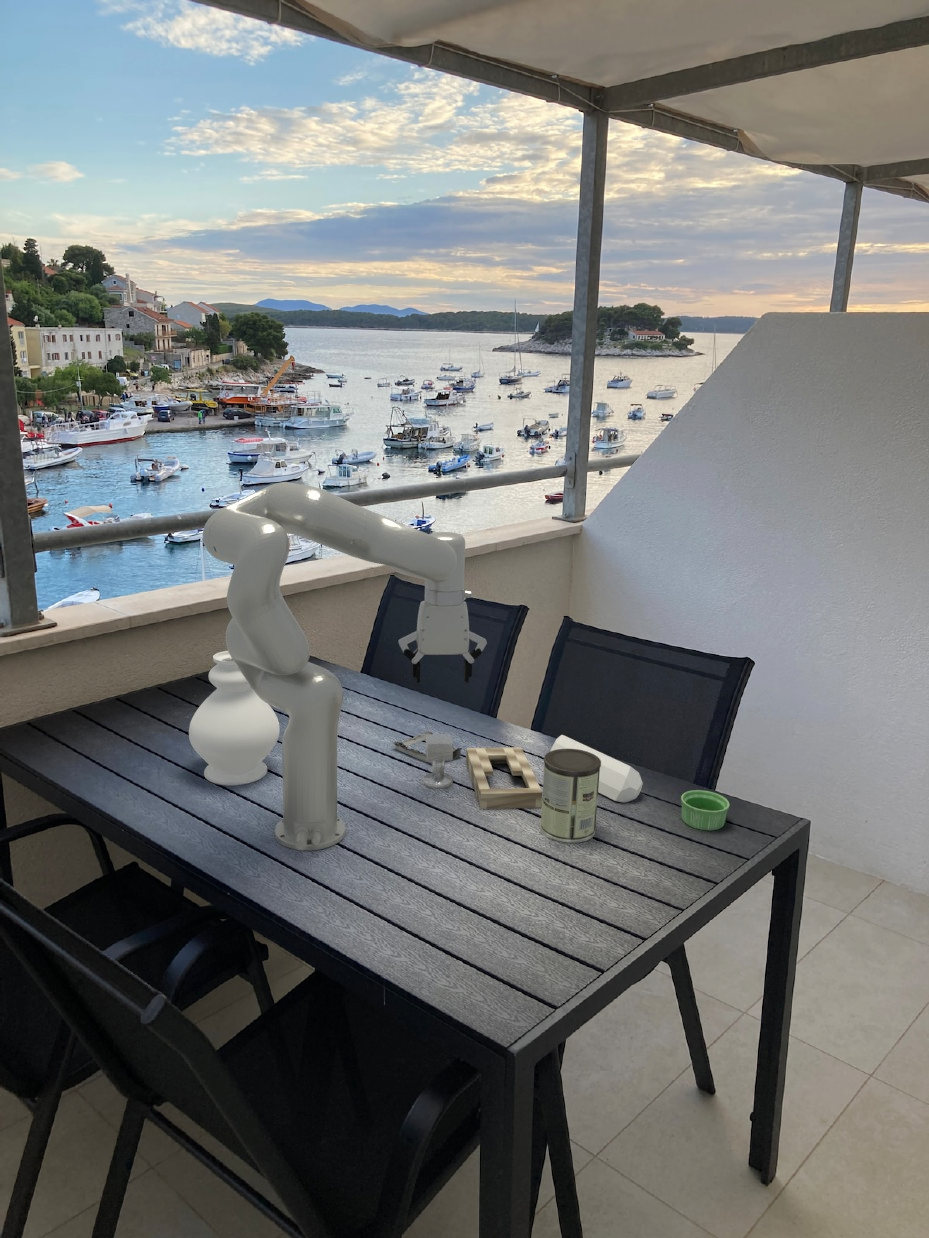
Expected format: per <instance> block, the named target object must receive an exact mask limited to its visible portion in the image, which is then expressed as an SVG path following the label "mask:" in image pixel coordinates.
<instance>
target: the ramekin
mask: <svg viewBox="0 0 929 1238" xmlns="http://www.w3.org/2000/svg"><path fill="white" fill-rule="evenodd" d="M680 802H681V819H682V821H683V823H685V824H686V825H687V826H689V827H691V828H694V829H695V830H696V829H697V830H701V831H716V830H720V829H721V828H723V827H724V826H725V823H726V819H727V815H728V811H729V810H730V809H729V808H730V802H729V800H728V799H727V798H726V797H724V796H723V795H721V794H719V793H716V792H713V791H710V790H701V789H696V790H695V789H694V790H688V791H686V792H684V793H682V794H681V796H680Z"/></svg>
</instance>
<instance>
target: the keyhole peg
mask: <svg viewBox="0 0 929 1238" xmlns="http://www.w3.org/2000/svg"><path fill="white" fill-rule="evenodd" d="M453 747H454V742H453V737H452V735H451V733H448V734H447V733H443V734H442V733H439V734H438V733H437V734H436V733H435V734H434V733H433V734H426V740H425V754H426V756H427V760H428V761H433V764H432V772H428V773H426V774H425V775H424V776H423V777H422V778H423V781H422V783H423V785H424V786H425V787H426V788H428V789H433V790H445V789H448V788H451V787H452V786H453V783H454V782H453V781H454V778H453V776H452V775H451V774H449V773H447V772H445V764H446V762H448V761H453V760H454V759H453Z"/></svg>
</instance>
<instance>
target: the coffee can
mask: <svg viewBox="0 0 929 1238" xmlns="http://www.w3.org/2000/svg"><path fill="white" fill-rule="evenodd" d="M543 762H544V764H543V765H544V766H543V781H542V782H543V783H542V807H541V818H540V820H541V821H540V827H539V828H540V831H541V833H542V834H544V836H545V837H547V838H549V839H551V840H553V841H557V842H562V843H567V844H569V843H570V844H578V843H583V842H586V841H590V840H591V839H592V838H593V837H594V836H595V835H596V827H597V826H596V823H597V811H598V810H597V809H598V797H599V792H598V787H599V773H600V767H601V760H600V759H599V758H598V757H597V756H596V755H594V754H592V753H590V752H587V751H583V750H578V749H558V750H553V751H551V750H549V751H548V752H547V753H545V754H544V757H543Z"/></svg>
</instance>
